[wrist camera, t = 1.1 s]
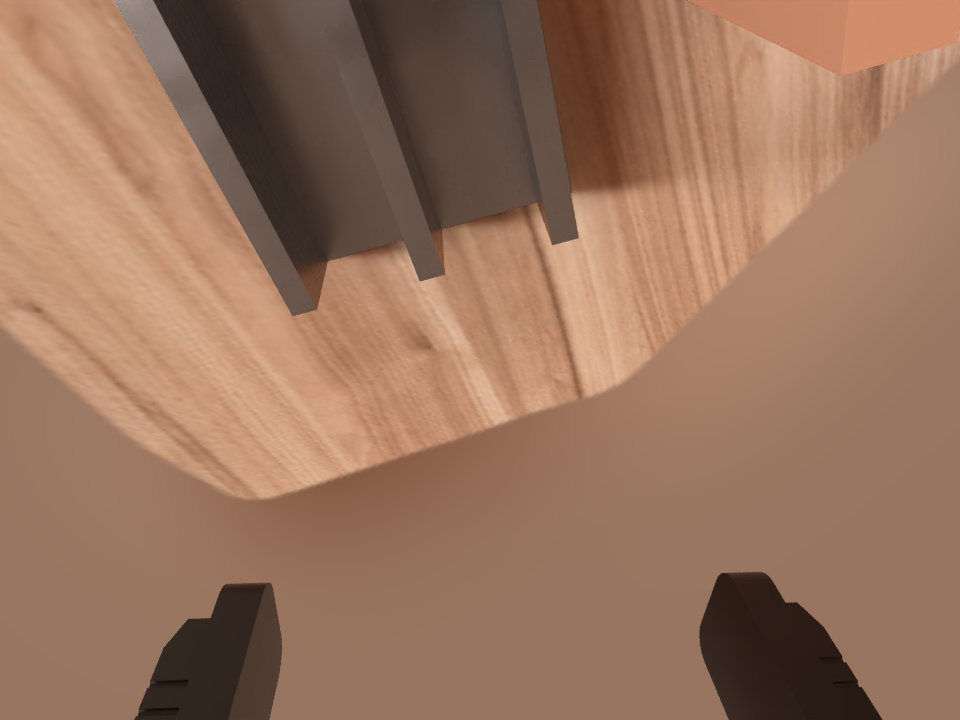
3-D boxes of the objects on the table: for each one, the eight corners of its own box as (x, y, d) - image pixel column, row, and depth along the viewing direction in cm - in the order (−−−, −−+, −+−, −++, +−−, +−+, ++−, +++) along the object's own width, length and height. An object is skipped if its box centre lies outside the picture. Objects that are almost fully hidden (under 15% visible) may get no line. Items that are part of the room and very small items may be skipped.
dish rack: (142, -38, 24) (84, -18, 20) (505, -163, 23) (526, -169, 18) (298, 260, 33) (280, 319, 29) (567, 184, 31) (591, 234, 27)
